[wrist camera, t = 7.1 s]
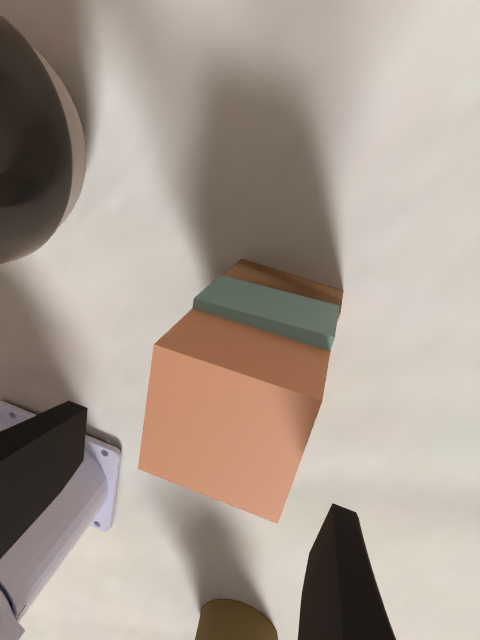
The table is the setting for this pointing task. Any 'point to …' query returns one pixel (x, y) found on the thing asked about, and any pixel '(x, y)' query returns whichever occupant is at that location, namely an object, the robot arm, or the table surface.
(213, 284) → the teal slab
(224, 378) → the orange block
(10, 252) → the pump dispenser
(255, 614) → the olive upright rounded piece
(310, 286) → the walnut slab
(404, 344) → the table surface
